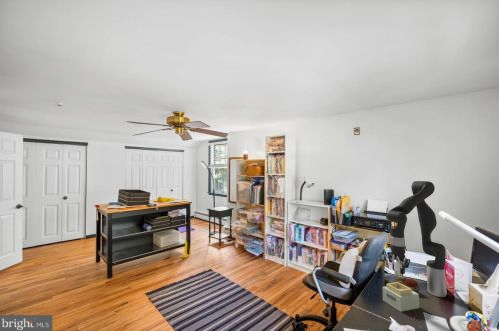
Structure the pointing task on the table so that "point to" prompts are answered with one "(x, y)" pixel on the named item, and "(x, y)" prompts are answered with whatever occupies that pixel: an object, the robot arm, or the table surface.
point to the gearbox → (400, 296)
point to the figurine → (405, 283)
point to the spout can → (397, 268)
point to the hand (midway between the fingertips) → (398, 272)
